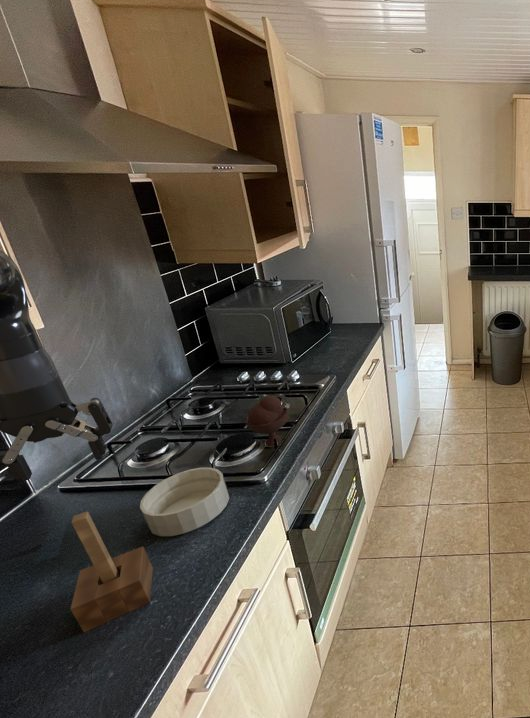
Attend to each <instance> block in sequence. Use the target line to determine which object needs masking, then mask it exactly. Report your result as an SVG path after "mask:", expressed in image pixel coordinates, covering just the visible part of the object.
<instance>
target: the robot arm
mask: <svg viewBox="0 0 530 718" xmlns="http://www.w3.org/2000/svg"><path fill="white" fill-rule="evenodd" d="M29 311H30V310H29V301H28V296H27V291H26V285H25V281H24V278H23V275H22V272H21V271H20V268H19V267H18V265H17V264H16V263H15V261H14V259H12V257H10V256H9V255H8V254H7V253H6V252H4V251H3V250H1V249H0V432H1V433H3V434H7V435H9V436H12V437H14V440H13V442H12V443H11V445H10V447H9V448H8V450H0V464H5V465H6V466H7V469H8V470H9V472H10V473H11V475H12V477H13V478H14V479H15V480H21V482H26V481H30V479H31V477H32V475H33V471H32V469H31V468H30V466H29V464H28V462H27V460H26V458H25V456H24V454H20V453H21V451H22V449H23V448H24V446H25V444H26V442H29V443H33V444H34V443H36V444H37V443H40V442H42V441H44V440H47V439H53V438H55V439H56V438H59V437H62V436H63V435H64V434H65V435H69V436H71V437H74V438H81V439H84V440H86V441H88V442H87V444H88V446H89V448H90V450H91V453H92V456H93V458H94V460H95V461H99V460H101V459H103V457H104V455H106V451H107V445H106V443H105V441H104V439H103V436H105V435H108V434H110V433H111V432H112V428H113V421H112V419H111V418H110V416H109V413H108V412H107V410H106V408H105V406H104V405H103V403H102V400H101V399H100V398H98V397H92V398H90V400H89V401H87V402H86V401H85V402H83V403H79V404H76V403H74V402H72V400H71V399H70V396H69V394H68V392H67V390H66V387H65V385H64V383H63V381H62V379H61V377H60V375H59V372H58V370H57V368H56V365H55V364H54V361H53V359H52V358H51V356H50V354H49V353H48V352H47V350H46V349H45V347H44V345H43V343H42V341H41V338H40V336H39V334H38V332H37V329H36V327H35V325H34V323H33V321H32V320H31V318H30V312H29ZM78 413H84V414H85V415H86V416H91V417H92V418H93V421H94V422H95V424H96V426H97V427H95V426H93V425H91V424H89V423H87V422H86V421H84V420H82V419H80V418H77V416H78Z"/></svg>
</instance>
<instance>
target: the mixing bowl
mask: <svg viewBox="0 0 530 718" xmlns="http://www.w3.org/2000/svg"><path fill="white" fill-rule="evenodd" d="M226 483H227V482H226V481H225V477H224V474H223V472H221V471H220V470H219V469H217V468H213V467H197V468H191V469H190V468H189V469H187V470H184V471H181V472H177V473H175V474H174V475H171V476H169V477H167V478H165V479H163V480H162V481H160V482H158V483H157V484H155V485H154V486H152V487H151V488H150V489H149V490H148V491H147V492H146V493H145V494H144V495H143V497H142V498H141V500H140V505H139V510H140V512H141V514H142V516H143V519H144V521H145V524H146V526H147V528H148V529H149V532H151V534H152V535H156V536H158V537H174V536H178V535H183V534H187V533H190V532H192V531H194V530H197V529H199V528H201V527H203V526H205V525H206V524H208V523H209V522H211V521H212V520H214V519H215V518H216V517H218V516H219V515H220V514H221V513H222V512H223V510H224V509H225V508H226V507H227V505H228V503H229V501H230V494H229V489H228V486H227V484H226Z"/></svg>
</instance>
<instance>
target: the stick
mask: <svg viewBox="0 0 530 718" xmlns="http://www.w3.org/2000/svg"><path fill="white" fill-rule="evenodd" d="M71 525H72V527H73V528H74V531H75V532H76V534H77V536H78V538H79V540H80V542H81V544H82V546H83V548H84V550H85V551H86V553H87V556H88V557H89V559H90V561H91V563H92V566H93V565H94V567H95V569H96V571H97V572H98V574H99V576H100V578H101V580H102V582H103V584H104V583H106V582H109V581H111V580H113V579H116V578H118V577H120V575H119V573H118V571H117V569H116V567H115V565H114V563H113V561H112V559H111V558H112V557H111V555H110V553H109V551H108V549H107V547H106V544H105V543H104V541H103V539H102V537H101V535H100V533H99V531H98V529H97V527H96V524H95V523H94V521H93V518H92V517H91V515H90V513H89V511H84V512H82V513H78V514H75V515H73V516H72V519H71Z"/></svg>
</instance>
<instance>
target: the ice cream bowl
mask: <svg viewBox="0 0 530 718" xmlns="http://www.w3.org/2000/svg"><path fill="white" fill-rule="evenodd" d="M288 418H289V407H287V406H284V405H283V404H282V401H281V399H280V398H279V397H277V396H275V395H267V396H264V397H262V398H261V399H260V400H259V402H258V403H256V404H254V406H251V408H250V409H249V410H248V414H247V415H246V416H245V420H244V424H245V425H246V428H248V429H249V430H250V431H253V432H254V433H256V434H260V435H268V438H269V439H268V438H267V439H268V440H267V439H266V440H267V441H266V444H267V445H268V446H274V443H275V442H274V439H276V440H277V441H279V440H281V435H276V432H278V431H279V430H280V429H281V428H282V427H284V425H285V424H286V423H287V422H288Z"/></svg>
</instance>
